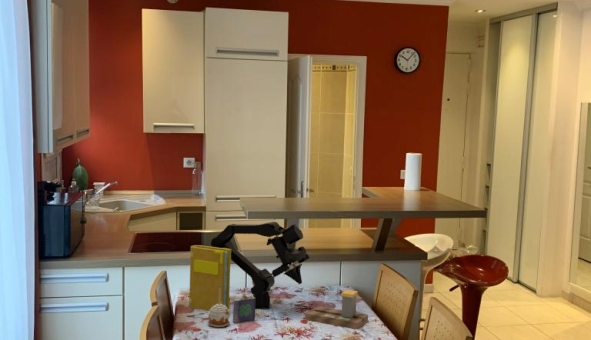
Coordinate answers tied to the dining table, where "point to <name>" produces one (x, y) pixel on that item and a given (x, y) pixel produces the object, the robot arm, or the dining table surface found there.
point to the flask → (244, 309)
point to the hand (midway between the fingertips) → (300, 283)
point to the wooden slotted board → (335, 317)
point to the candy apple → (219, 314)
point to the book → (209, 277)
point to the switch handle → (349, 303)
